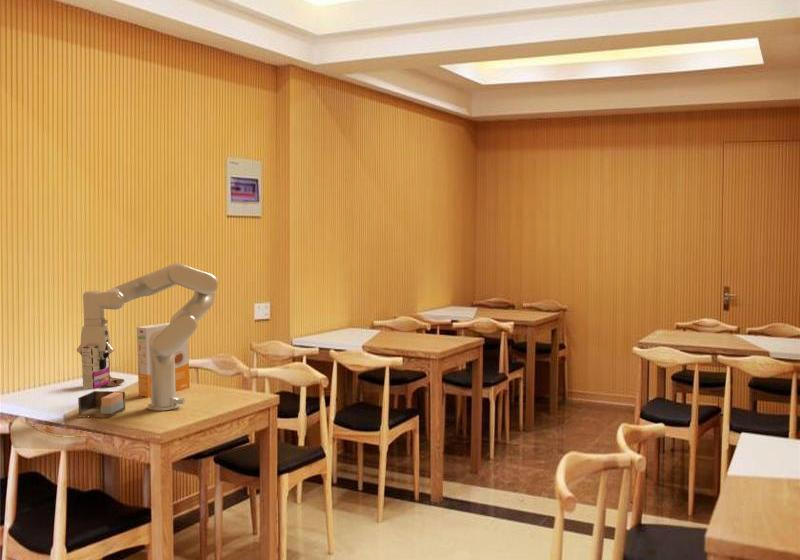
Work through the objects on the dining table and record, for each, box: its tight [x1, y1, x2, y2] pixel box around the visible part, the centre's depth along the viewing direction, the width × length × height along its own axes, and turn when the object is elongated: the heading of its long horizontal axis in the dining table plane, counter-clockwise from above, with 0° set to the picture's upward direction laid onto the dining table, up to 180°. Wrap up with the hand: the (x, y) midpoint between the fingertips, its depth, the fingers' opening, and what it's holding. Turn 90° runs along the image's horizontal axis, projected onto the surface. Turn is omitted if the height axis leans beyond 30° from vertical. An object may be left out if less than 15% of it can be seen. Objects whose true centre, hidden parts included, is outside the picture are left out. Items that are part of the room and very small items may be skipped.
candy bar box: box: [81, 346, 110, 390], centre depth 299 cm, size 11×5×16 cm, turn 169°
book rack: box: [77, 390, 126, 418], centre depth 301 cm, size 13×12×8 cm
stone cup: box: [103, 357, 125, 387], centre depth 353 cm, size 15×12×15 cm
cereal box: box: [136, 322, 190, 398], centre depth 339 cm, size 22×6×30 cm, turn 146°
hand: (95, 368), depth 299 cm, fingers closed on candy bar box, 5 cm apart
